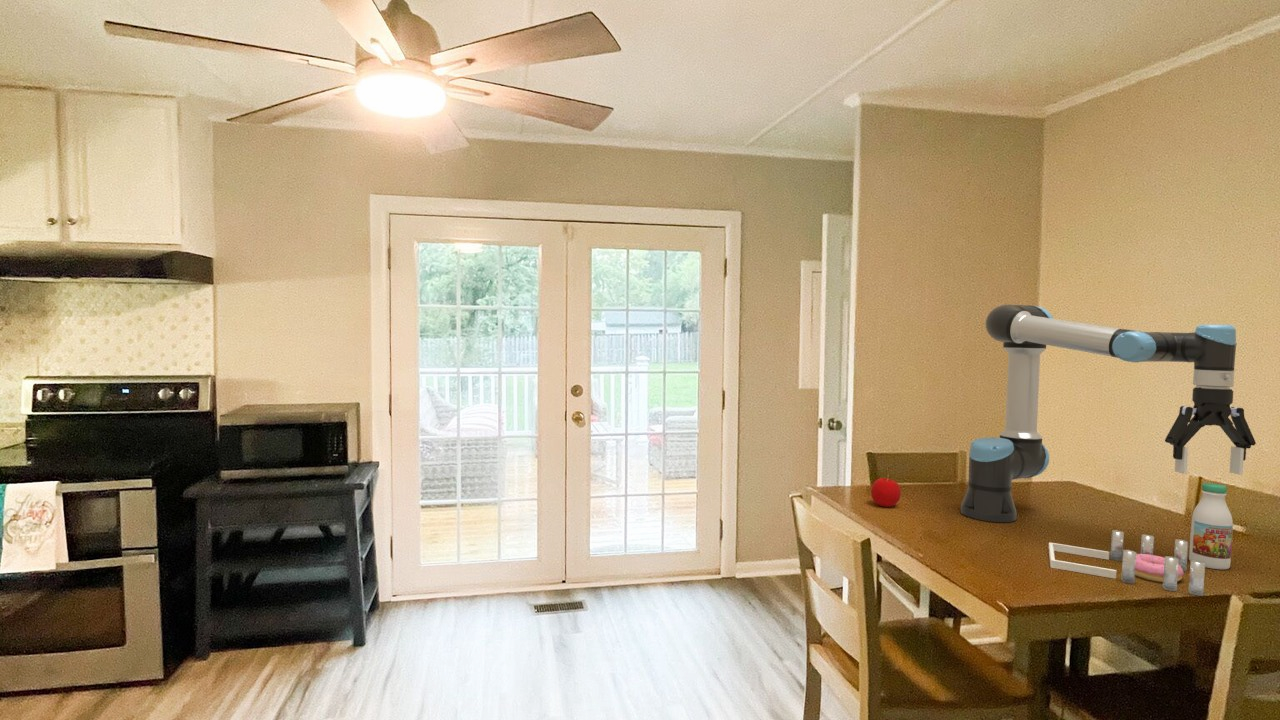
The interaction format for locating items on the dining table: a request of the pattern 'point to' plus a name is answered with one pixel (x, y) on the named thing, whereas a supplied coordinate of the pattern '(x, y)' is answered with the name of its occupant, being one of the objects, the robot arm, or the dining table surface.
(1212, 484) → the milk bottle
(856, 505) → the dining table surface
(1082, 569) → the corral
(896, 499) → the fruit
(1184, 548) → the spacers
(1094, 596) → the dining table surface
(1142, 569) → the doughnut
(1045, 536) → the dining table surface
